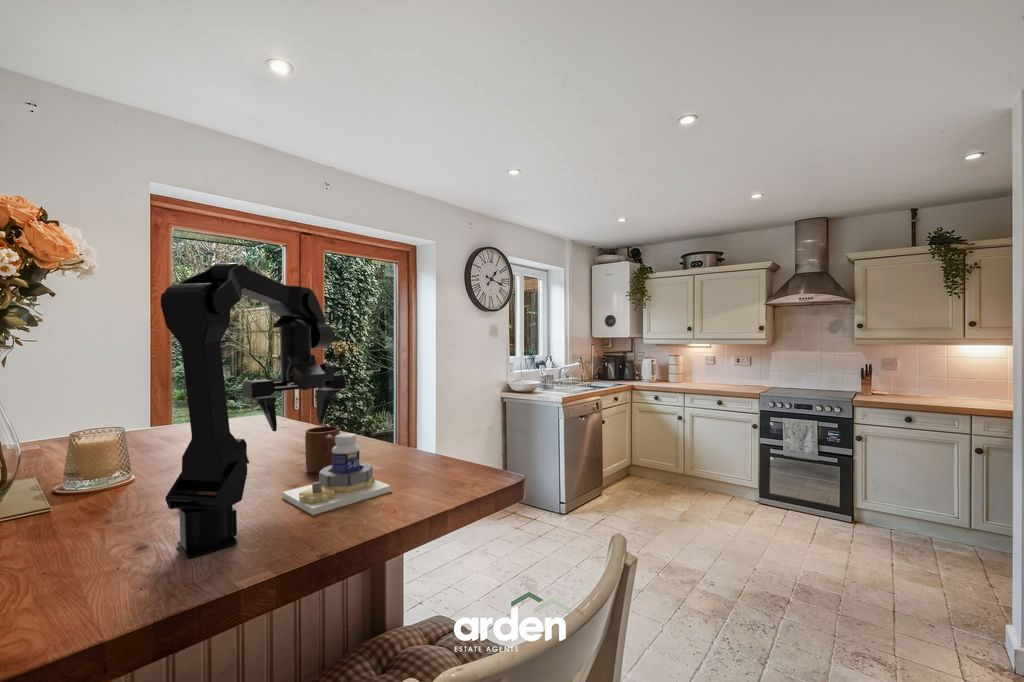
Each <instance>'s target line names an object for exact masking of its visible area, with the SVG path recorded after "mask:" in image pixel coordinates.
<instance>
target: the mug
mask: <svg viewBox="0 0 1024 682" xmlns="http://www.w3.org/2000/svg"><path fill="white" fill-rule="evenodd" d="M339 434H341V431H340V427H338V426H317V427H313V428H309V429H307V430H305V435H304V436H305V437H304V441H305V469H306V471H307V473H310V474H319V472H320V471H321V470H322V469H323V468H324V467H327V466H331V465H332V449H333V447H334V446H336V443H335V436H336V435H339Z"/></svg>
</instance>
